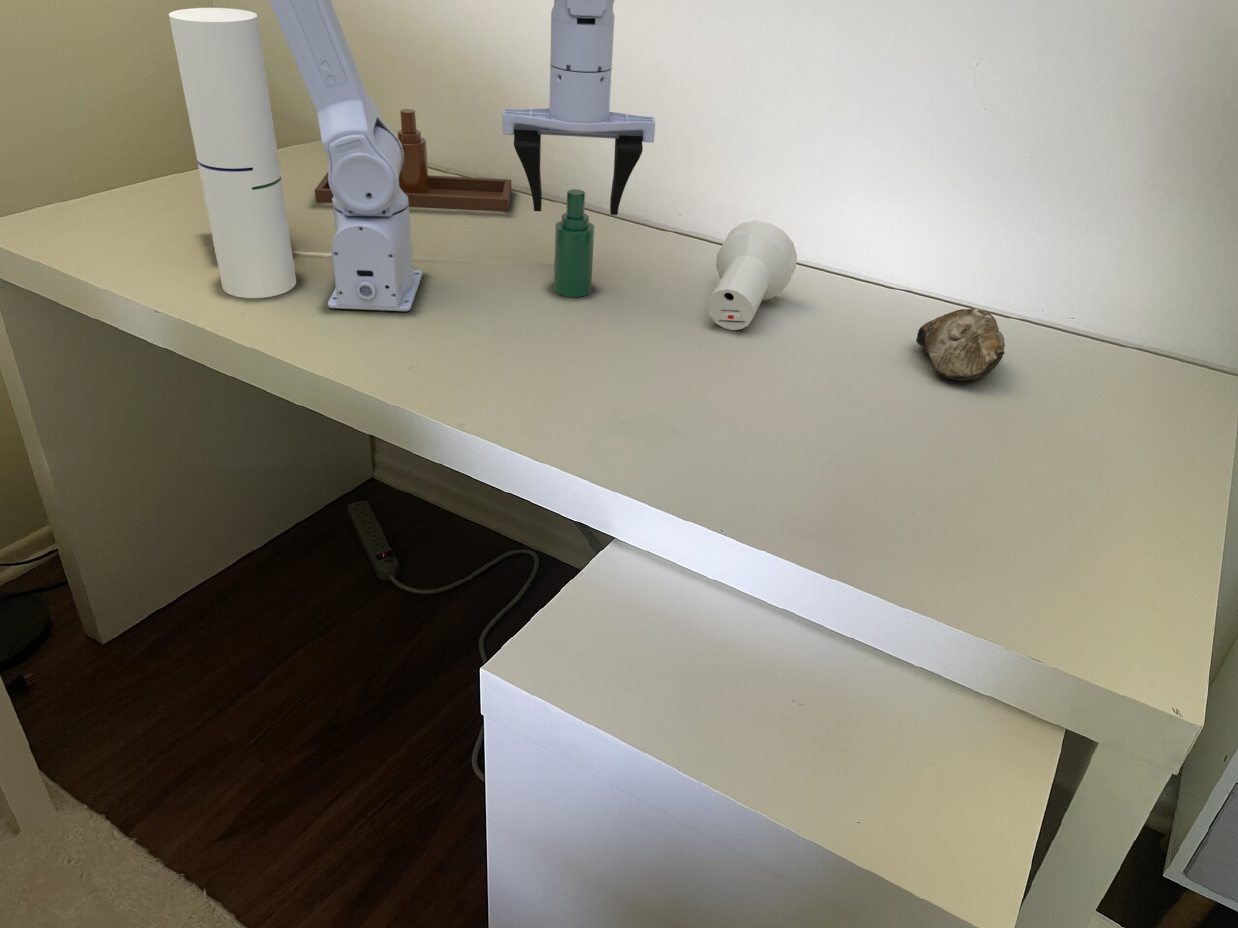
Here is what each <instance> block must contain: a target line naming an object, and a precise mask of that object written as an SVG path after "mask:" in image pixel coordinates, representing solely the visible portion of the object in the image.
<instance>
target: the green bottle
mask: <svg viewBox="0 0 1238 928" xmlns="http://www.w3.org/2000/svg"><path fill="white" fill-rule="evenodd" d="M585 205H586V191H584V190H583V189H578V188H574V189H568V190H567V191H566V212H564V213H562V214H561V217H560V219H561V220H558V221H557V222H556V223H555V226H554V256H553V257H554V260H553V262H554V264H553V291H554V293H556V294H558V295H560V296H563V297H567V298H581V297H585V296H588V295H590V294H591V292H592V283H593V282H592V281H593V262H594V244H595V225H594V224H593V223H592V222H590V216H589V215H588V214H586V213H585V208H586V207H585Z"/></svg>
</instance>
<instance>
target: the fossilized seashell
mask: <svg viewBox="0 0 1238 928" xmlns="http://www.w3.org/2000/svg"><path fill="white" fill-rule="evenodd" d="M999 329H1000V328H999V326H998V322H997V320H996V318H995V317H994V316H993V315H992V314H991V313H990V312H988V311H986V310H984V309H981V308H962V309H961V308H960V309H957V310H954V311H951V312H948V313H945V314H943V315H941V316H938V317H936V318H935V319H932V320H930V321H927V322H926V323H924V324H923V325H921V326H920V327H919V329H918V331H917V336H916V339H915V342H916V343H917V344H918V345H919V346H920V347H922V348H924V349H925V351H926V354H927V357H928V359H929V361H930V363H931V365H932V367H933V369H934V371H935V372H936V373H937V375H939V376H941V377H943V378H944V379H948V380H950V379H951V380H956V381H962V382H963V381H974V380H978V379H980V378H983V377H986V376H987V375H989V373H991V372H992V371H993V370H995V369H996V367H997V366H998V365H999V363H1000V362H1001V361H1002V359H1003V356H1004V355H1005V354H1006V352H1005V346H1006V344H1005V337H1004V335H1003V333H1002V332H1001V331H1000V330H999Z"/></svg>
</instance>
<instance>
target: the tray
mask: <svg viewBox="0 0 1238 928" xmlns="http://www.w3.org/2000/svg"><path fill="white" fill-rule="evenodd" d="M428 183H429V194H426V193H406V192H404V193H405V194H406V195H407V197H408V201H409V203H408V204H409V208H421V209H422V208H423V209H424V208H426V209H442V210H443V209H445V210H466V211H485V212H504V213H505V212H507V213H508V212H509V207H510V202H511V196H512V179H506V178H490V177H489V178H487V177H470V176H468V177H467V176H452V175H451V176H450V175H449V176H448V175H431V174H428ZM314 197H315V202H316V203H321V204H322V203H323V204H324V203H325V204H333V203H332V198H333V194H332V191H331V189H330V186H329V182H328V172H326V174H325V175H324V177H322V179H321V181H320V182H319V183H318V185H317V186H316V188H315V189H314Z"/></svg>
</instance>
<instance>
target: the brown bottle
mask: <svg viewBox="0 0 1238 928" xmlns="http://www.w3.org/2000/svg"><path fill="white" fill-rule="evenodd" d="M399 111H400V112H399V113H400V127H401V129H399V130H397V137H398V139H399V141H400V142H401V145H402V147H403V152H404V162H403V166H402V170H401V171H400V175H399V187H400V188H401V190H402V191H403V192H406V193H426V194H429V183H428V175H429V169H428V148H427V139H425V138H424V137H422V133H421V131H420V130H419V129H417V118H416V117H417V113H416V110H415V109H412V108H403V109H400V110H399Z"/></svg>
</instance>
